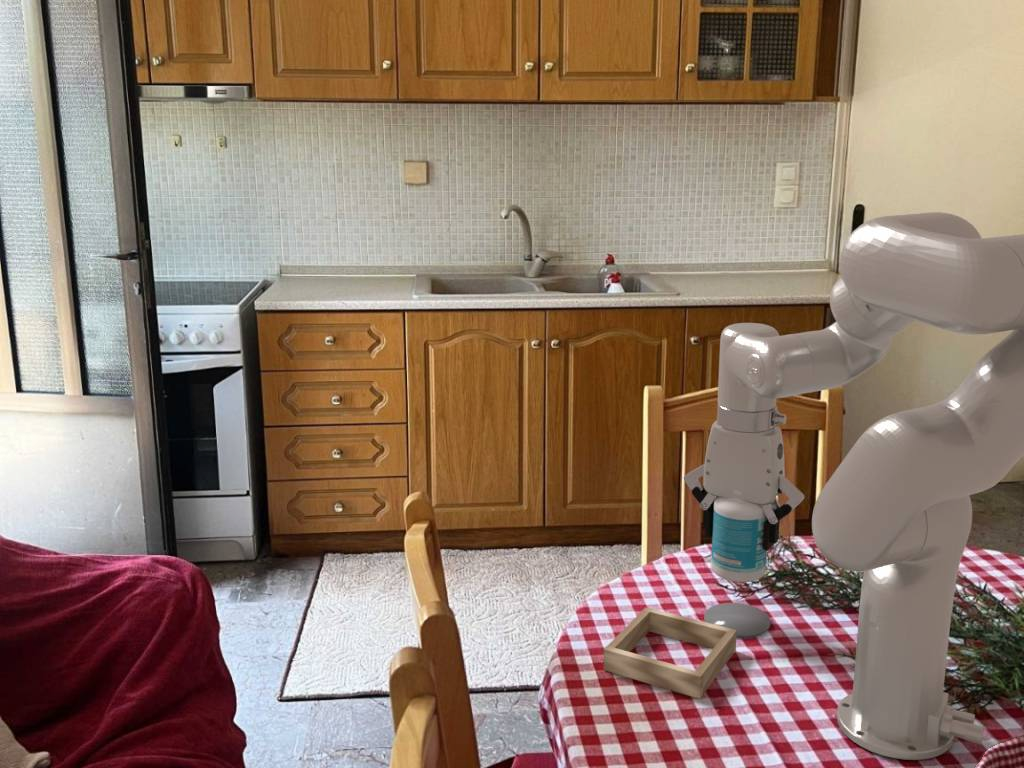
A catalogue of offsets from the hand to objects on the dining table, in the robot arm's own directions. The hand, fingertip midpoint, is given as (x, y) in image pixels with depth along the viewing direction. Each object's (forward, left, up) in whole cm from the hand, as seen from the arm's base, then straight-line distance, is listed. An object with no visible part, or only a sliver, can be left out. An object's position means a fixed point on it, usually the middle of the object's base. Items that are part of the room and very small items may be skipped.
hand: (739, 539), depth 137 cm
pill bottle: (0, 0, -5) cm, 5 cm away
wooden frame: (+4, +14, -12) cm, 19 cm away
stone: (0, 0, -12) cm, 12 cm away
